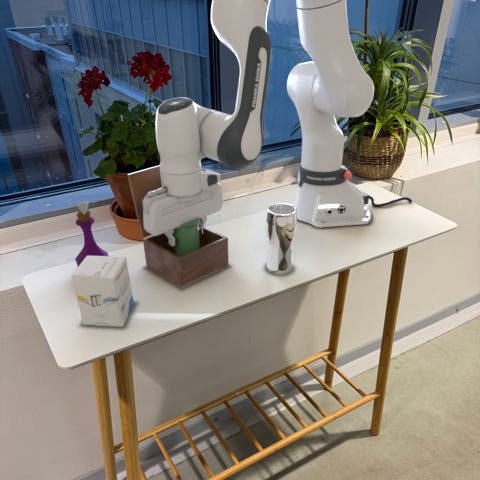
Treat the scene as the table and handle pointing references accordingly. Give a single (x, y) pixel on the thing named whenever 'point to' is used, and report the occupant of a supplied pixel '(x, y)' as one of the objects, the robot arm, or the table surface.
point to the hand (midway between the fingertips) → (186, 239)
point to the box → (186, 257)
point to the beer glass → (280, 237)
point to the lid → (143, 190)
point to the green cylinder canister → (187, 237)
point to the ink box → (103, 290)
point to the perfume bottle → (87, 234)
